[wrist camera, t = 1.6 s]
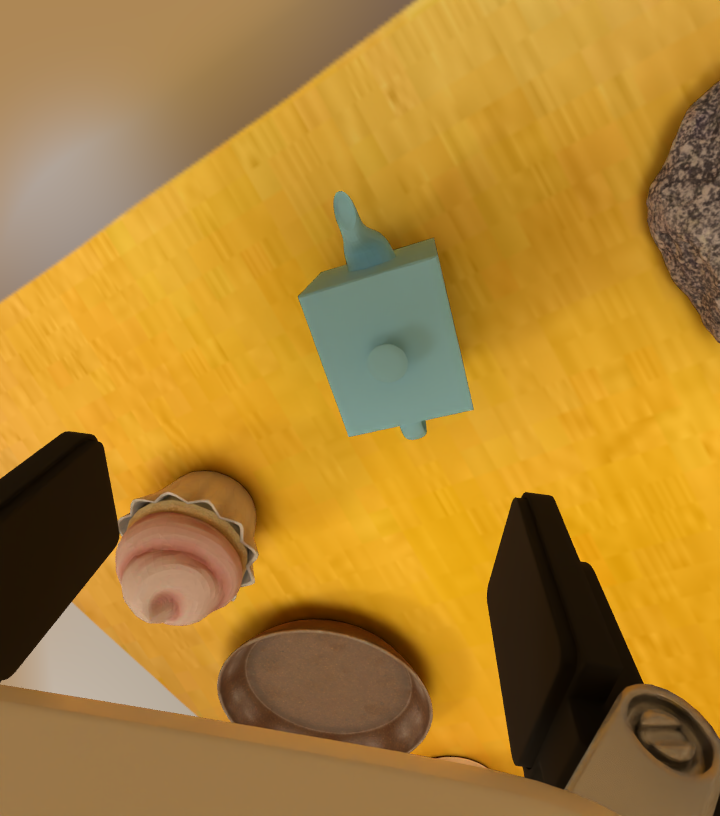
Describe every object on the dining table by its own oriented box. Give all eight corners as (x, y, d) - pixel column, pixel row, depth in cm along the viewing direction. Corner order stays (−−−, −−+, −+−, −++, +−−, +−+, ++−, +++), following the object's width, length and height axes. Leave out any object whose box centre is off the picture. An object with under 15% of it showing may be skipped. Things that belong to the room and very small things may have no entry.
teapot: (302, 205, 25) (259, 218, 18) (417, 165, 23) (416, 164, 17) (369, 406, 29) (355, 476, 23) (467, 383, 28) (483, 450, 21)
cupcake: (287, 556, 36) (244, 683, 27) (170, 552, 37) (91, 673, 28) (268, 449, 32) (210, 558, 23) (137, 449, 33) (33, 552, 24)
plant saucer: (261, 571, 37) (249, 603, 34) (469, 649, 38) (472, 685, 35) (209, 694, 45) (195, 728, 42) (382, 755, 46) (379, 792, 43)
